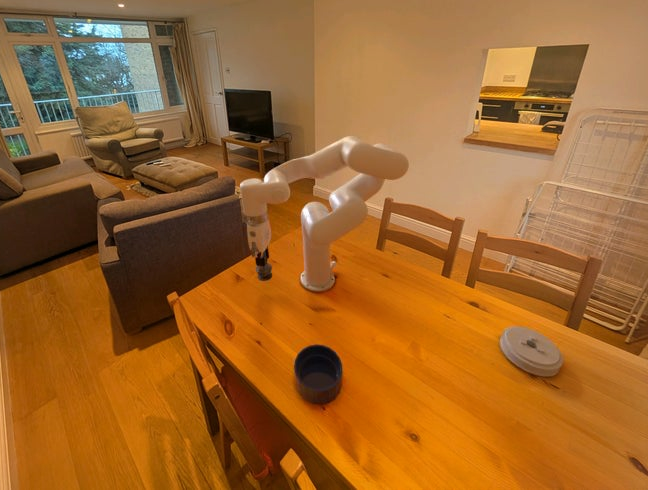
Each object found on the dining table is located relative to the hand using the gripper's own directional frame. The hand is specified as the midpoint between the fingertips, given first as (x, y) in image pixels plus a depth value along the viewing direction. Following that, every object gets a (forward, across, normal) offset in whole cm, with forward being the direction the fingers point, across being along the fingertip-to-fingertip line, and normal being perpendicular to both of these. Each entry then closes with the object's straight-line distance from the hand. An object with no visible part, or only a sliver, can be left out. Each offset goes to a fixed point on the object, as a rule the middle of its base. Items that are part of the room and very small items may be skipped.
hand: (262, 261), depth 102 cm
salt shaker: (+7, 0, 0) cm, 7 cm away
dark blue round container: (+12, -30, -24) cm, 40 cm away
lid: (+14, -11, -77) cm, 79 cm away
